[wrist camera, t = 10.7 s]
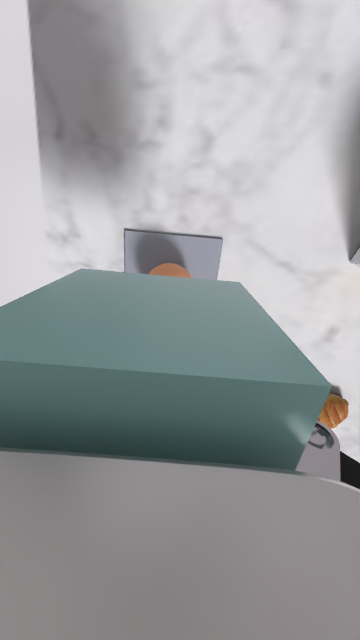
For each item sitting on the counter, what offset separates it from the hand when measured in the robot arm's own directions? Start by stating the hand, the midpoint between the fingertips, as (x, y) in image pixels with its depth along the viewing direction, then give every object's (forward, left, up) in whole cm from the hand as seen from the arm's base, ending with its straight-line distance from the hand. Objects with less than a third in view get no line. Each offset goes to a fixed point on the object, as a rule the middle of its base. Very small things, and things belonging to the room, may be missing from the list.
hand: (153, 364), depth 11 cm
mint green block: (0, 0, -2) cm, 2 cm away
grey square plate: (0, 0, -16) cm, 16 cm away
